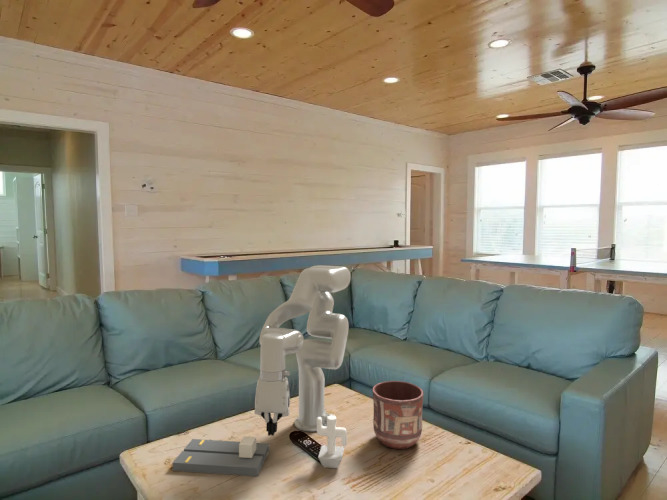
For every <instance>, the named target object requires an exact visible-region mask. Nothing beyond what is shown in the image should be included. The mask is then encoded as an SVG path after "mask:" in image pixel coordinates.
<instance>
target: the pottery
mask: <svg viewBox="0 0 667 500" xmlns="http://www.w3.org/2000/svg"><path fill="white" fill-rule="evenodd" d="M371 391H372V401H373V402H372V403H373V404H372V405H373V416H372V419H373V420H372V423H373V425H372V426H373V431H374V434H375V436H376V438H377V440H379V442H380V443H381V444H382V445H383V446H385V447H387V448H389V449H393V450H407V449H410V448H412V447H413V446H414V445H415V444H416V443H417V442H419V440H420V438H421V436H422V432H423V403H424V397H425V396H424V395H425V394H424V393H425V392H424V390H423V388H421V387H419V386H418V385H416V384H414V383H411V382H407V381H401V380H389V381H383V382H379V383H376V384H375V385H374V386H373V387H372V390H371Z"/></svg>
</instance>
